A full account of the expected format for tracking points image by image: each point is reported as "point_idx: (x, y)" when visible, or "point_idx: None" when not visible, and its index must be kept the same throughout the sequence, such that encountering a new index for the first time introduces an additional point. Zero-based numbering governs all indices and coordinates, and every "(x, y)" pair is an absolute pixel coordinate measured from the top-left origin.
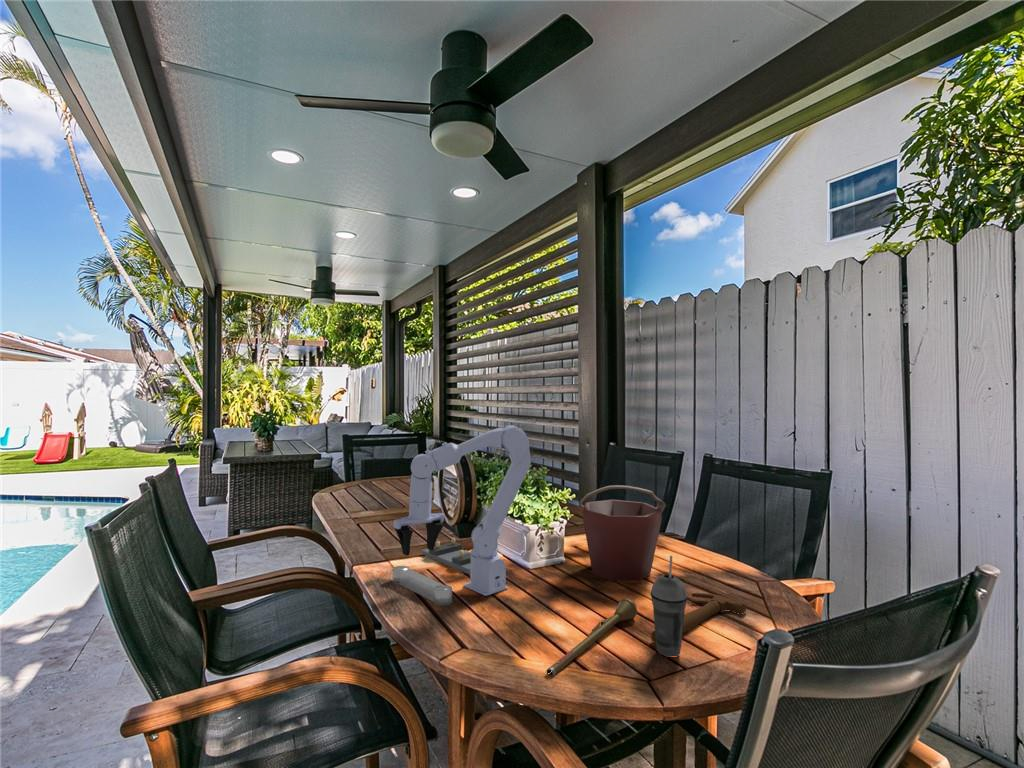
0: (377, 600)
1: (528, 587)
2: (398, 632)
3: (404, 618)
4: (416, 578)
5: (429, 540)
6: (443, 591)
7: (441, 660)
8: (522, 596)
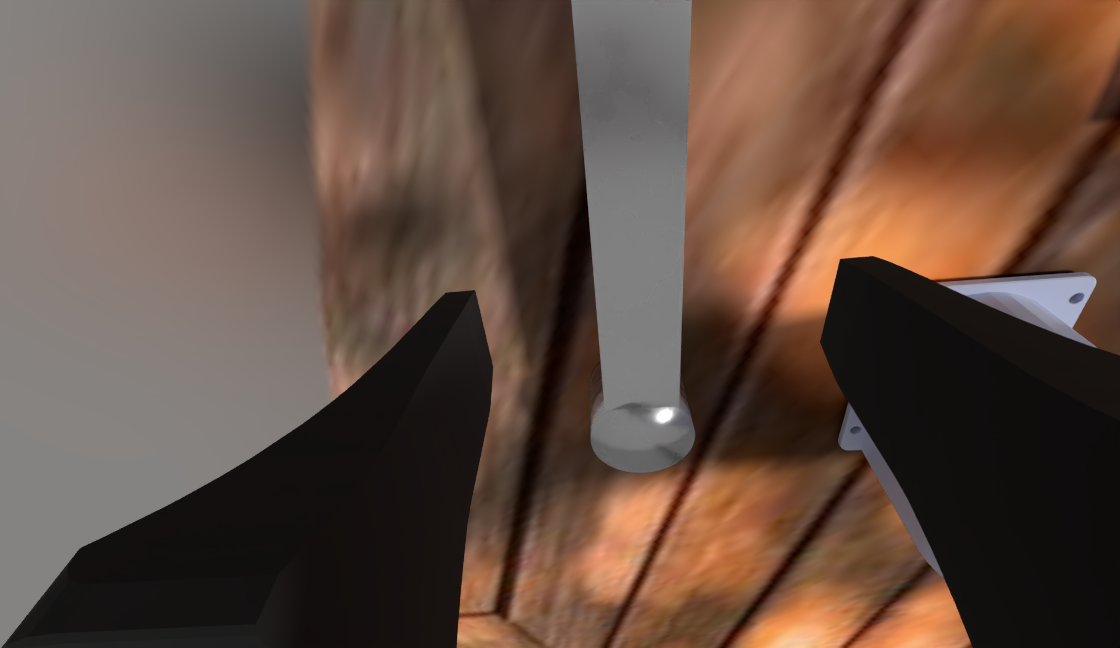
0: (315, 157)
1: None
2: None
3: None
4: (601, 216)
5: (900, 367)
6: (617, 466)
7: None
8: None
